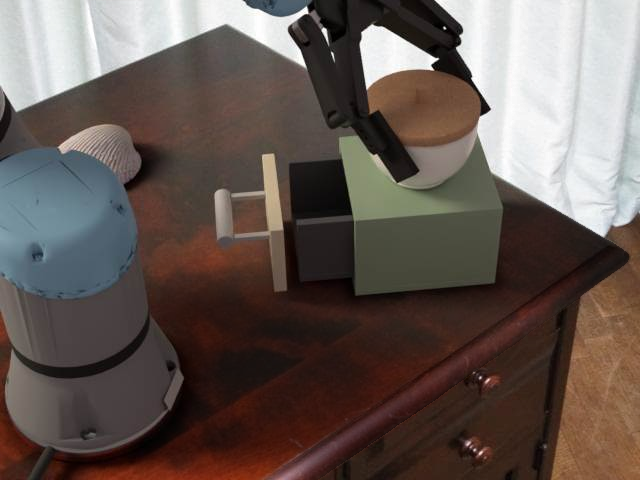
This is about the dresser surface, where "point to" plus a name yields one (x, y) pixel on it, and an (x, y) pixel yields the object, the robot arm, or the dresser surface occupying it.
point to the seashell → (107, 149)
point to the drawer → (300, 219)
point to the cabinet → (421, 226)
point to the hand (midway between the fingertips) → (445, 145)
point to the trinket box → (428, 121)
